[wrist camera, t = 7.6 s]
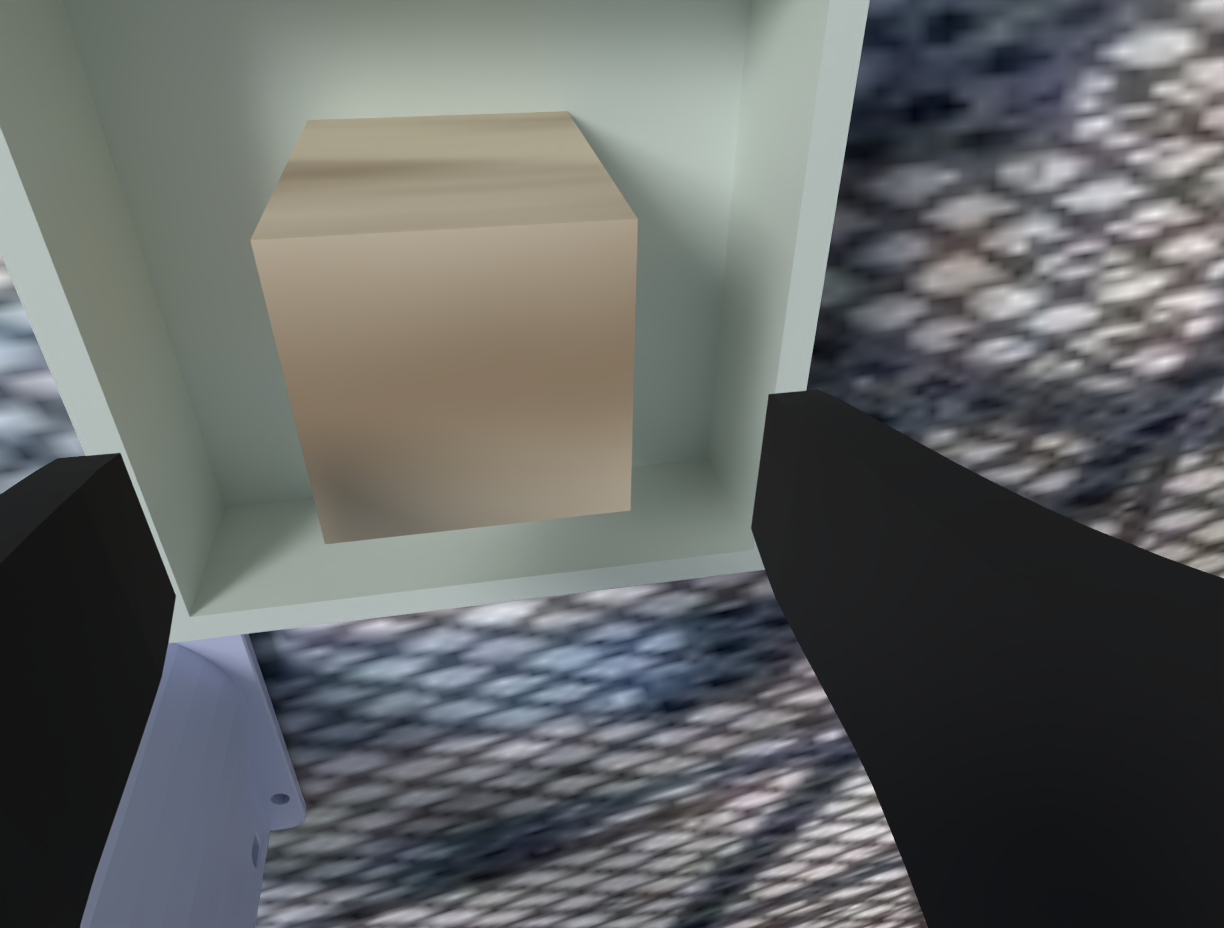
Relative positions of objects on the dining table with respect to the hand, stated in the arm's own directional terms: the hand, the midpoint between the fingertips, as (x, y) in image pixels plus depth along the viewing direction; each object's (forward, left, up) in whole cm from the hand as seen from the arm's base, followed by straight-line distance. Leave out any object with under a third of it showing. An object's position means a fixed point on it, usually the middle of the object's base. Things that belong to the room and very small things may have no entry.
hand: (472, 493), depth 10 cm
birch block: (0, 0, -8) cm, 8 cm away
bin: (0, 0, -9) cm, 9 cm away
